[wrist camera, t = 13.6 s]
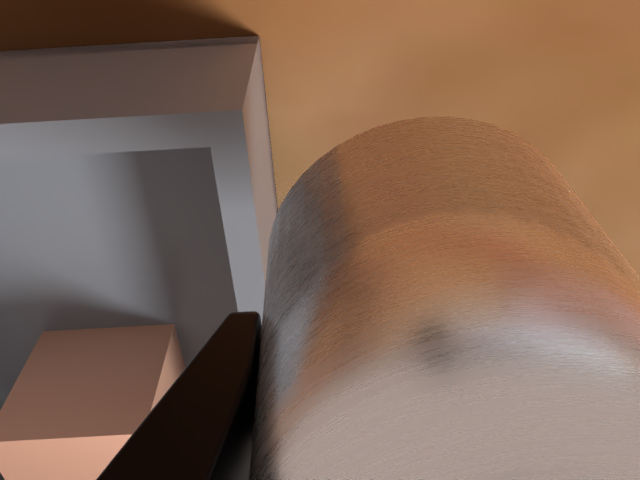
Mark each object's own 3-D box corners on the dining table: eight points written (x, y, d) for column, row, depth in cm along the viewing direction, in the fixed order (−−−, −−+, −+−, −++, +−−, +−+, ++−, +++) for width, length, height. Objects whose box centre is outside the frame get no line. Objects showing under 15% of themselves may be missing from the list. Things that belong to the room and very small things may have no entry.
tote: (300, 428, 27) (300, 555, 22) (5, 444, 27) (-59, 573, 22) (259, 35, 17) (242, 109, 12) (-202, 62, 17) (-396, 146, 13)
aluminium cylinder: (551, 358, 11) (826, 929, 5) (284, 377, 11) (265, 958, 5) (604, 102, 8) (1311, 722, 2) (247, 130, 8) (122, 786, 3)
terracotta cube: (197, 412, 25) (175, 525, 21) (79, 418, 25) (35, 532, 21) (174, 323, 22) (144, 433, 18) (42, 331, 22) (-17, 442, 18)
